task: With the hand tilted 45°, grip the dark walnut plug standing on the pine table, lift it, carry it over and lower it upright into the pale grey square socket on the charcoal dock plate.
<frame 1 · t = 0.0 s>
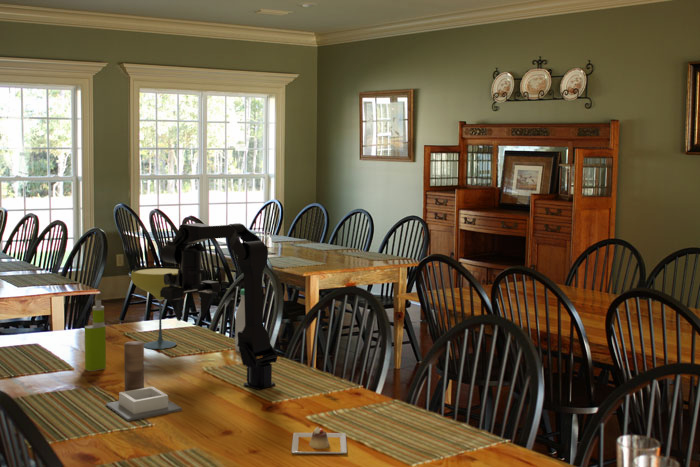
hand: (191, 318, 237), 15 cm above the table, tool pointing down, fingers open, 9 cm apart
dessert: (319, 448, 178), on the table
milk bottle: (247, 350, 259), on the table
vape: (95, 369, 234), on the table
socket dock: (143, 407, 200), on the table
cocktail glass: (160, 346, 262), on the table
plug: (134, 391, 213), on the table
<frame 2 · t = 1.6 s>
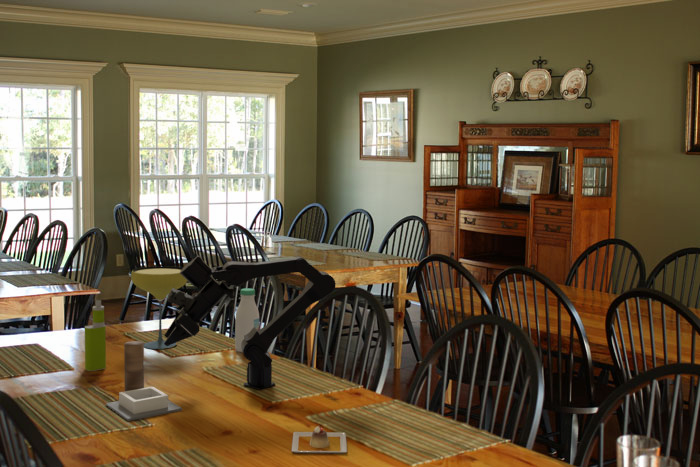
hand: (165, 340, 214), 13 cm above the table, tool tilted 45°, fingers open, 9 cm apart
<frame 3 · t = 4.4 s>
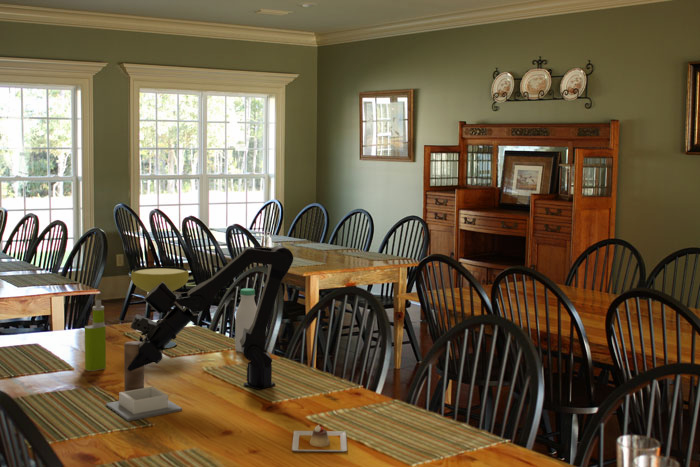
hand: (128, 367, 212), 7 cm above the table, tool tilted 45°, fingers closed on plug, 5 cm apart
plug: (134, 391, 213), on the table, touching gripper
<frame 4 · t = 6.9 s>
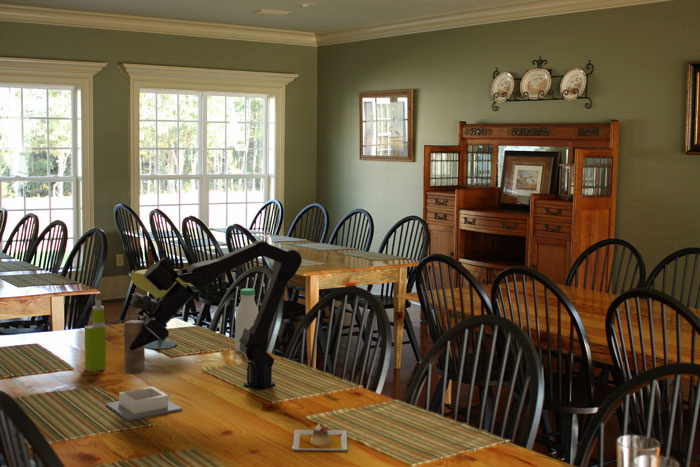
hand: (128, 347, 206), 13 cm above the table, tool tilted 45°, fingers closed on plug, 5 cm apart
plug: (134, 371, 207), point 7 cm above the table, touching gripper
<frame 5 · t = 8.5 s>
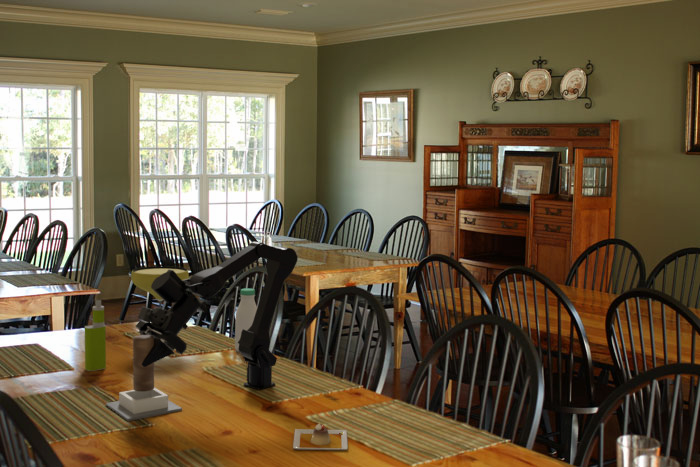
hand: (138, 363, 198), 12 cm above the table, tool tilted 45°, fingers closed on plug, 5 cm apart
plug: (143, 388, 199), point 5 cm above the table, touching gripper
when the fingers open (8 cm above the table, at t = 9.6 s): plug stays where it is, resting on socket dock.
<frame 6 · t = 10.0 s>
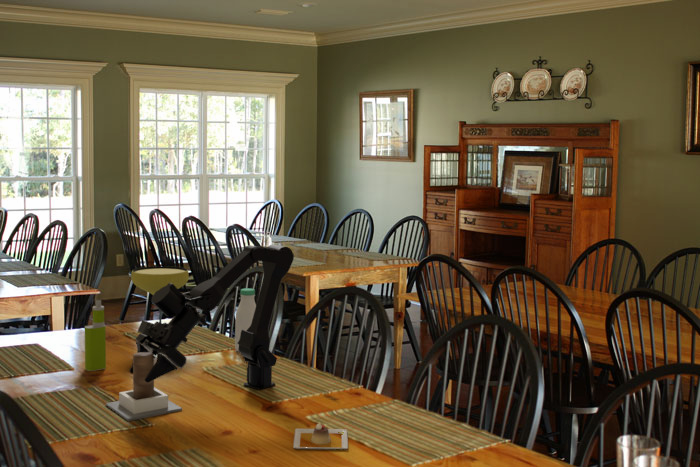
hand: (138, 377, 198), 8 cm above the table, tool tilted 45°, fingers open, 9 cm apart
plug: (143, 405, 200), point 1 cm above the table, touching socket dock
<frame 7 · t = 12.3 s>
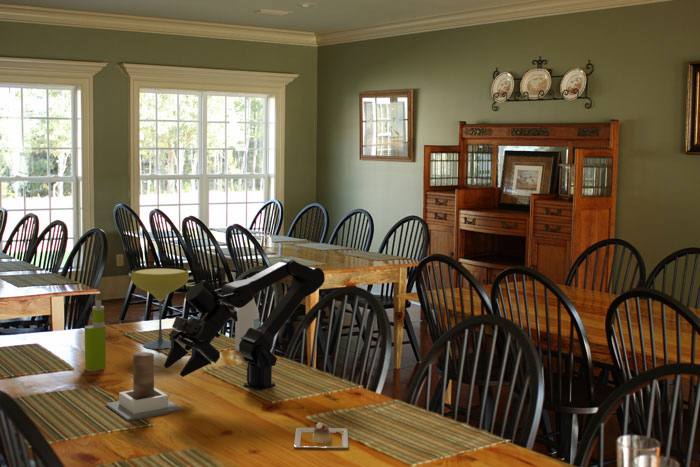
hand: (172, 371, 204), 8 cm above the table, tool tilted 45°, fingers open, 9 cm apart
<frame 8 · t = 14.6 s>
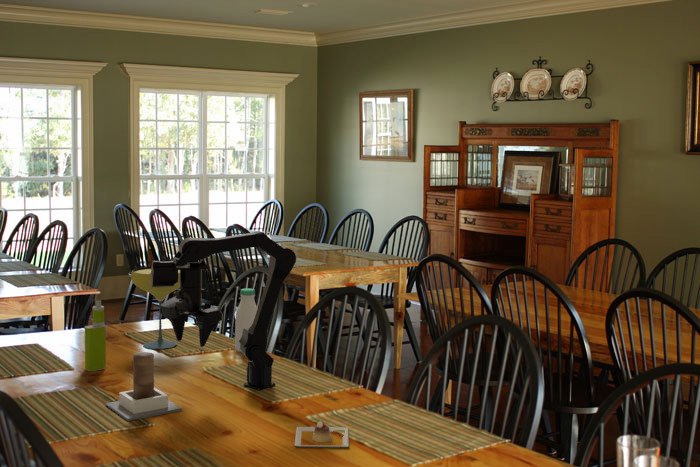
hand: (190, 343, 213), 13 cm above the table, tool pointing down, fingers open, 9 cm apart
at the end: plug 0.0 cm off-centre on the socket dock, point 0.6 cm above the socket dock's base; plug tilted 0°; the gripper is holding nothing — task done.
